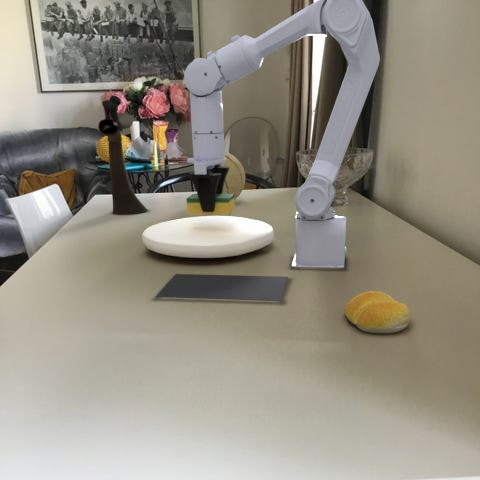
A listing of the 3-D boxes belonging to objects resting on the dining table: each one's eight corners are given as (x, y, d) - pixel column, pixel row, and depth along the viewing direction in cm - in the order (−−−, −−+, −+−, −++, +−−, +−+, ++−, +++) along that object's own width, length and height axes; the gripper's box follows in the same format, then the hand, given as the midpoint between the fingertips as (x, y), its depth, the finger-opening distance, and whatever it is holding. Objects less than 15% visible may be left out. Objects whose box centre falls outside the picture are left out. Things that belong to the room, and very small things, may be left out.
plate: (167, 211, 131) (282, 213, 126) (168, 239, 133) (281, 243, 127) (119, 226, 104) (261, 229, 99) (121, 261, 106) (261, 266, 101)
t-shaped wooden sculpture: (120, 202, 171) (108, 95, 160) (152, 200, 171) (142, 94, 160) (104, 224, 142) (88, 96, 131) (142, 223, 142) (129, 95, 131)
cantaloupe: (256, 202, 164) (255, 148, 158) (220, 210, 154) (217, 153, 148) (220, 197, 173) (218, 146, 168) (184, 204, 164) (180, 151, 158)
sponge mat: (288, 279, 97) (288, 276, 97) (280, 303, 87) (280, 300, 86) (176, 276, 101) (175, 273, 101) (155, 299, 90) (155, 296, 90)
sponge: (234, 209, 109) (234, 193, 108) (229, 214, 104) (228, 198, 103) (194, 209, 110) (193, 193, 109) (187, 214, 106) (186, 198, 104)
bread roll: (370, 340, 73) (372, 311, 72) (336, 316, 81) (337, 290, 80) (423, 329, 76) (426, 301, 74) (385, 307, 84) (387, 282, 82)
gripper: (196, 130, 109) (200, 201, 114) (175, 136, 96) (180, 216, 101) (232, 129, 108) (234, 201, 113) (215, 135, 95) (219, 216, 100)
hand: (211, 208), depth 107 cm, fingers closed on sponge, 5 cm apart
